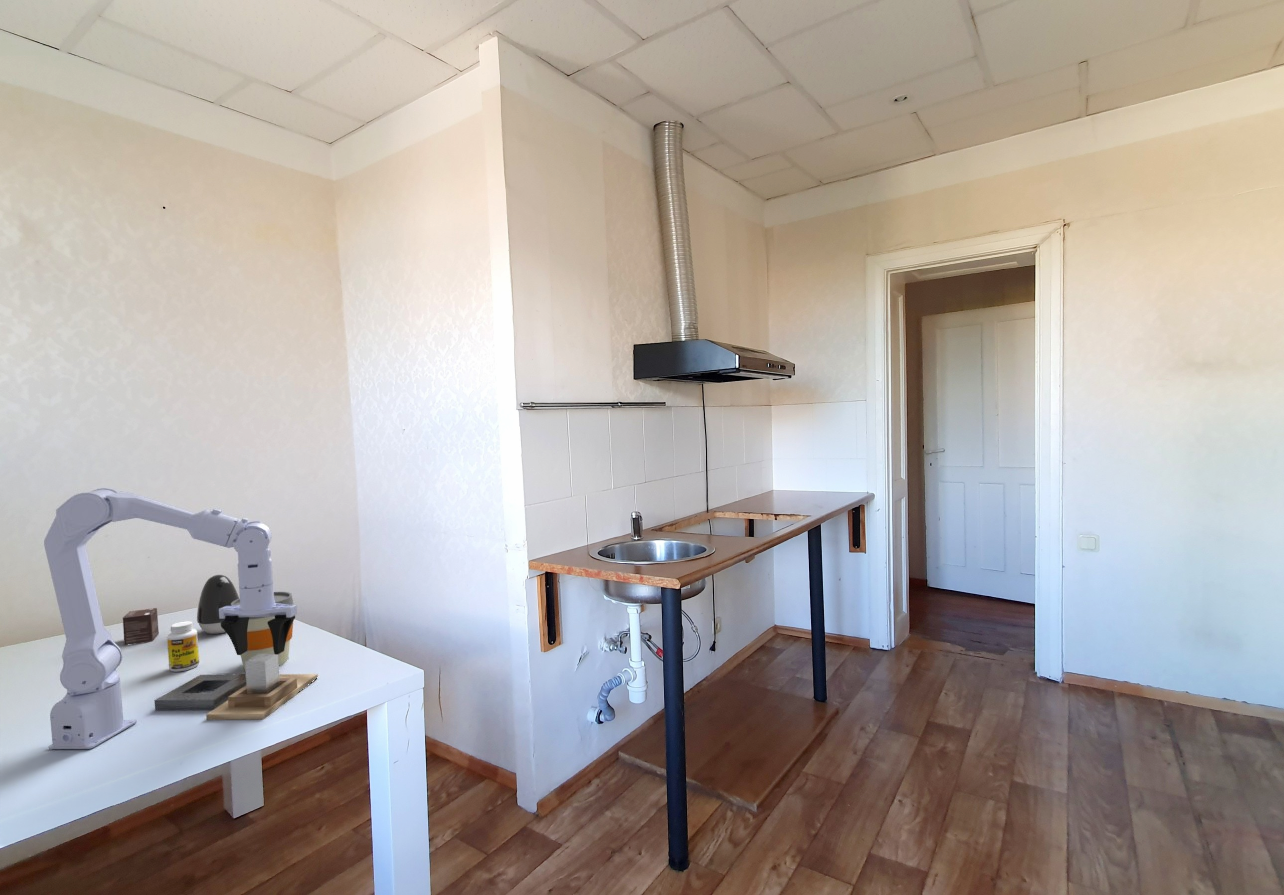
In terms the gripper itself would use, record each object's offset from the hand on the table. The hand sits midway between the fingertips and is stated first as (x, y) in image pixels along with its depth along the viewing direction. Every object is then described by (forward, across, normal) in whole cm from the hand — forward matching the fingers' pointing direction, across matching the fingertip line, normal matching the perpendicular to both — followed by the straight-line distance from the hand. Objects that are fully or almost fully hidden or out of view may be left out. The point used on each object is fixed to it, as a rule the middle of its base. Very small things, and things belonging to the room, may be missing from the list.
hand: (260, 652), depth 124 cm
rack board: (+10, +1, -2) cm, 10 cm away
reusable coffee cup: (+10, +13, -20) cm, 26 cm away
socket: (+10, +14, -3) cm, 17 cm away
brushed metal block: (+9, 0, 0) cm, 9 cm away
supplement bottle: (+10, +31, -18) cm, 37 cm away
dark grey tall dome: (+10, +41, -43) cm, 60 cm away
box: (+10, +58, -37) cm, 69 cm away
